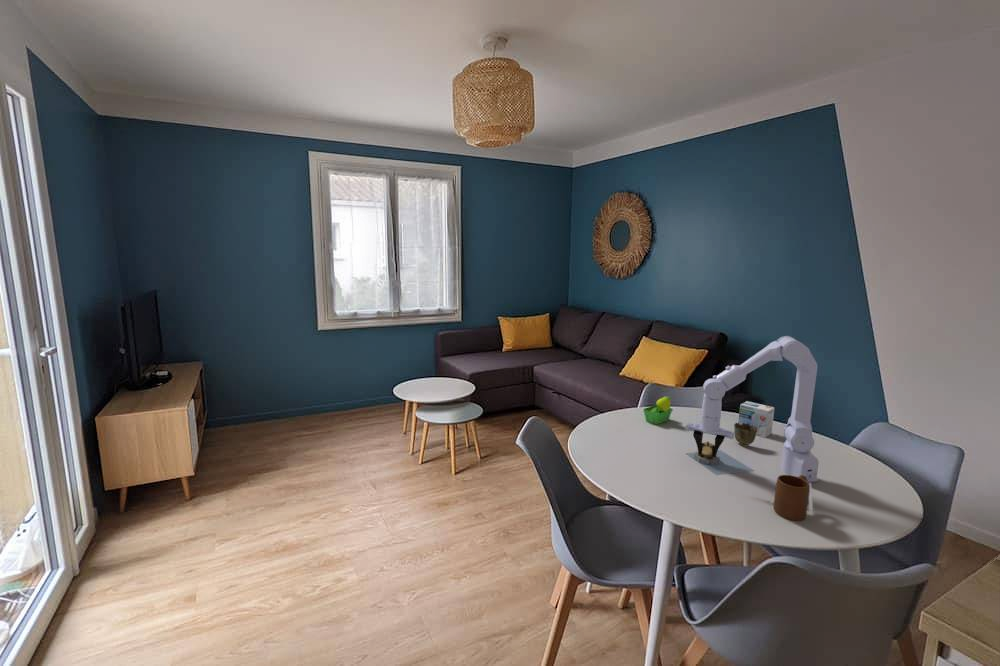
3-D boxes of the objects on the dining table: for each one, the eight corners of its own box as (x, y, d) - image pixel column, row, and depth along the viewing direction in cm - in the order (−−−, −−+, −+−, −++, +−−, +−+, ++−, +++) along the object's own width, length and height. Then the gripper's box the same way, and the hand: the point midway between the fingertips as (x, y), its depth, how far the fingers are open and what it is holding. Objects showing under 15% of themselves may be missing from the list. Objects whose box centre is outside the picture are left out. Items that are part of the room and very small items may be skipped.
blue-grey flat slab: (754, 473, 150) (755, 466, 150) (715, 477, 147) (716, 470, 147) (720, 452, 166) (721, 446, 165) (684, 456, 162) (685, 449, 162)
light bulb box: (736, 430, 188) (739, 403, 186) (743, 426, 192) (746, 400, 190) (765, 438, 180) (769, 410, 178) (772, 433, 184) (775, 407, 183)
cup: (750, 443, 174) (752, 422, 173) (758, 451, 167) (761, 430, 166) (729, 442, 175) (731, 421, 174) (736, 450, 168) (739, 429, 167)
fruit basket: (656, 415, 203) (658, 389, 201) (675, 421, 197) (677, 394, 195) (641, 420, 196) (643, 394, 194) (660, 427, 189) (662, 400, 188)
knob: (713, 460, 155) (715, 446, 154) (700, 459, 156) (701, 445, 155) (713, 456, 158) (714, 442, 158) (700, 454, 160) (701, 440, 159)
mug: (786, 498, 135) (790, 467, 134) (816, 509, 130) (821, 477, 128) (768, 511, 128) (772, 479, 126) (799, 524, 122) (803, 491, 121)
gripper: (736, 416, 154) (732, 455, 157) (689, 408, 162) (686, 445, 164) (734, 422, 148) (730, 463, 151) (685, 413, 156) (682, 452, 158)
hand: (707, 454), depth 157 cm, fingers closed on knob, 4 cm apart
